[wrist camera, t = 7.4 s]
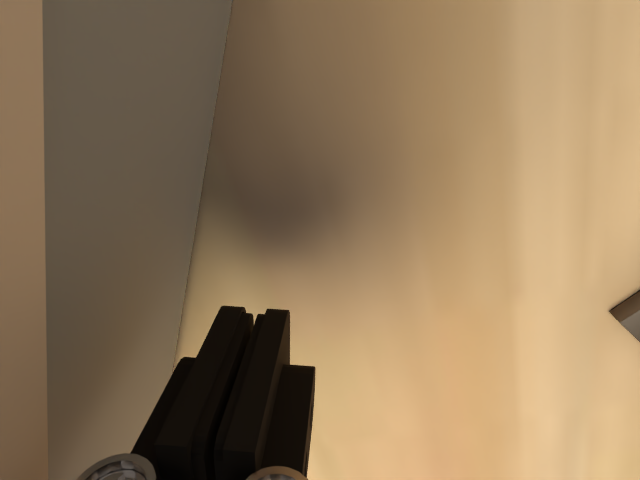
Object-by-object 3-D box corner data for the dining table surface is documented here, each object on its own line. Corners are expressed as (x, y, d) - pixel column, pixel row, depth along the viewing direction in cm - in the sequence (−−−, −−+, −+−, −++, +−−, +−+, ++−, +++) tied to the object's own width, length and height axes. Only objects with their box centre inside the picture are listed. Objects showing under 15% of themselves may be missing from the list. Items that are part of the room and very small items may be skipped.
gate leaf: (177, -115, 10) (-571, -760, 2) (257, -89, 10) (-126, -591, 2) (126, 391, 18) (-75, 706, 9) (173, 403, 18) (16, 725, 10)
